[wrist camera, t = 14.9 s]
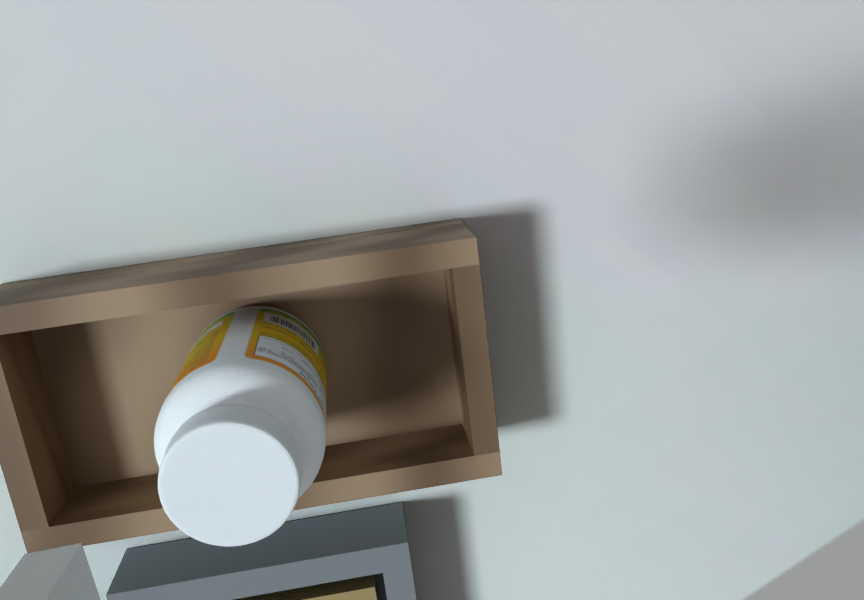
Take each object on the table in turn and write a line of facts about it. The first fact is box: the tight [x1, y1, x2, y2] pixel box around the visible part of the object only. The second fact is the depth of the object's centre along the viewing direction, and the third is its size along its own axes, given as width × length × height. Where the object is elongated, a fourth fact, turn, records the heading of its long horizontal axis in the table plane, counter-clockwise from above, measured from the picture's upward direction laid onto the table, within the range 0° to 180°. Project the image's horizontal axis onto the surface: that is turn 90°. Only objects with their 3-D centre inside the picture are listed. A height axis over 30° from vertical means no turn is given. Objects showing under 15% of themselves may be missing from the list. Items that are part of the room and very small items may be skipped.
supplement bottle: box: [154, 306, 327, 547], centre depth 27 cm, size 5×5×10 cm
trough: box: [0, 219, 502, 553], centre depth 31 cm, size 18×10×4 cm, turn 97°
